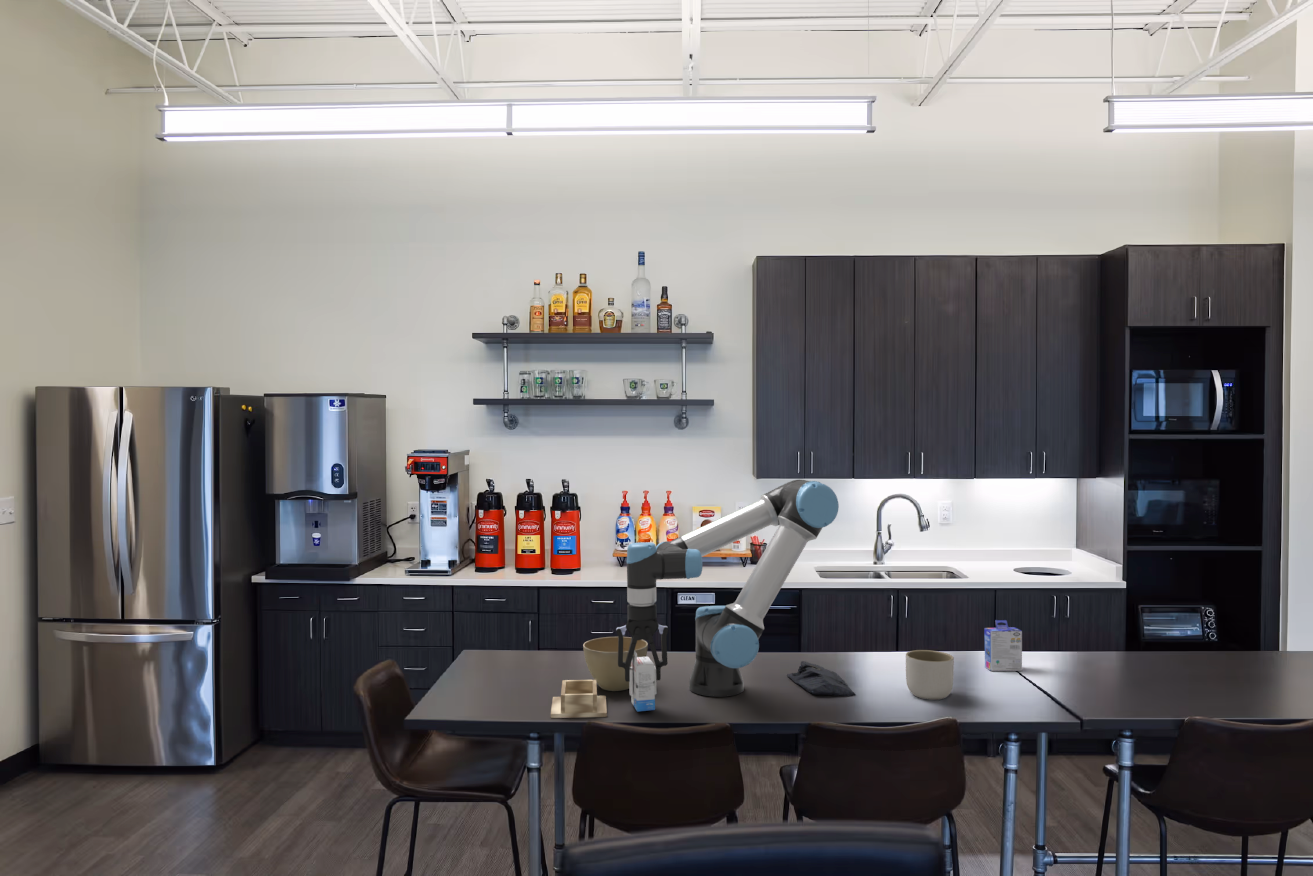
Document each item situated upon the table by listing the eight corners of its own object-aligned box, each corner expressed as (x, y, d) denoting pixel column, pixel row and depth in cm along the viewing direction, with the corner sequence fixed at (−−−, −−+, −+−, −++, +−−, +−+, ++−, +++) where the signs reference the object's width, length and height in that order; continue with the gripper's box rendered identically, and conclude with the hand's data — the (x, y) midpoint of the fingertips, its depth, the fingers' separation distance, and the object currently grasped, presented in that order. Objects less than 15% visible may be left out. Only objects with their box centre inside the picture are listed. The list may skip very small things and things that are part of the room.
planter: (904, 699, 228) (904, 659, 228) (907, 687, 240) (907, 648, 240) (953, 705, 224) (953, 663, 224) (953, 691, 236) (954, 652, 236)
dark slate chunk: (804, 699, 230) (804, 682, 230) (784, 676, 251) (785, 660, 251) (859, 698, 231) (859, 680, 231) (835, 675, 253) (835, 659, 253)
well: (605, 699, 228) (605, 678, 228) (606, 716, 214) (606, 694, 214) (552, 700, 226) (552, 680, 226) (550, 718, 213) (550, 696, 213)
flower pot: (640, 676, 250) (640, 634, 250) (653, 694, 232) (653, 650, 232) (579, 679, 246) (579, 637, 246) (587, 699, 228) (587, 653, 228)
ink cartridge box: (1014, 666, 261) (1015, 619, 261) (1023, 671, 256) (1023, 623, 256) (983, 666, 261) (983, 619, 261) (990, 671, 256) (991, 623, 256)
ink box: (656, 710, 216) (655, 652, 216) (636, 712, 215) (635, 654, 215) (649, 700, 224) (648, 644, 224) (630, 701, 223) (629, 645, 223)
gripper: (675, 599, 224) (676, 687, 224) (605, 601, 222) (606, 690, 222) (678, 605, 216) (679, 696, 216) (606, 607, 215) (607, 699, 215)
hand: (642, 693), depth 219 cm, fingers closed on ink box, 5 cm apart
